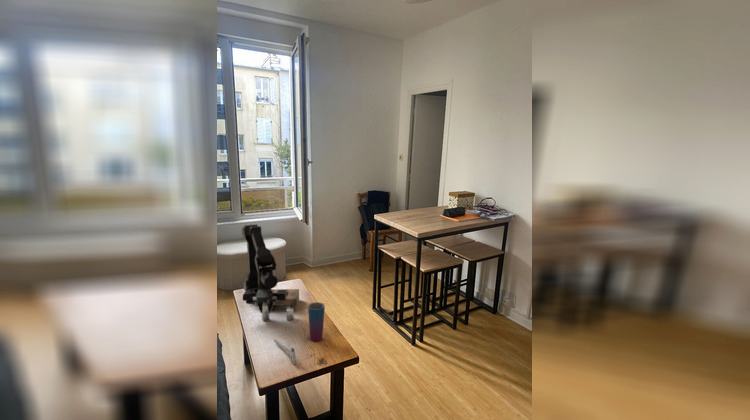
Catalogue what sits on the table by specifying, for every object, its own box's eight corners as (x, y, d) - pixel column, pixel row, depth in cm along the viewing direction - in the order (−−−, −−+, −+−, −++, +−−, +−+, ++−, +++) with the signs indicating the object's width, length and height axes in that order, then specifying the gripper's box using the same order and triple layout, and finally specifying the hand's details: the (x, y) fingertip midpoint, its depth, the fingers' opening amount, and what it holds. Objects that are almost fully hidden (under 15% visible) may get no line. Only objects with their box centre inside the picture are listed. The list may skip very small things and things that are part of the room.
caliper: (296, 365, 138) (295, 349, 137) (293, 366, 138) (293, 350, 136) (276, 340, 154) (275, 326, 153) (273, 341, 154) (273, 327, 153)
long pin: (261, 321, 169) (261, 303, 168) (262, 318, 172) (262, 300, 171) (268, 321, 170) (268, 302, 168) (269, 318, 173) (269, 299, 171)
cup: (306, 336, 158) (306, 303, 155) (322, 333, 160) (322, 301, 158) (310, 344, 151) (310, 310, 149) (326, 341, 154) (326, 308, 151)
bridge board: (267, 310, 180) (266, 299, 179) (271, 300, 191) (271, 289, 190) (296, 310, 181) (296, 298, 180) (298, 300, 193) (298, 289, 192)
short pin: (286, 321, 170) (286, 310, 169) (287, 317, 174) (286, 307, 173) (293, 320, 171) (293, 310, 170) (293, 317, 174) (293, 307, 173)
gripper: (238, 287, 159) (240, 321, 161) (283, 287, 161) (283, 320, 163) (245, 278, 169) (246, 309, 172) (286, 277, 171) (287, 309, 174)
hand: (265, 312), depth 170 cm, fingers closed on long pin, 3 cm apart
